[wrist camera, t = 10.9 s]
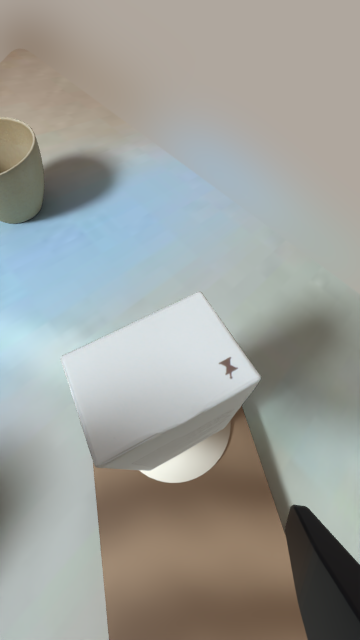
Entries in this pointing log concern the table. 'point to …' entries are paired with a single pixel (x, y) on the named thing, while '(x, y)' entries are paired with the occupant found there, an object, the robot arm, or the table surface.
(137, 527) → the walnut board
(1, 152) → the flower pot
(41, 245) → the table surface
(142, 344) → the skincare box
